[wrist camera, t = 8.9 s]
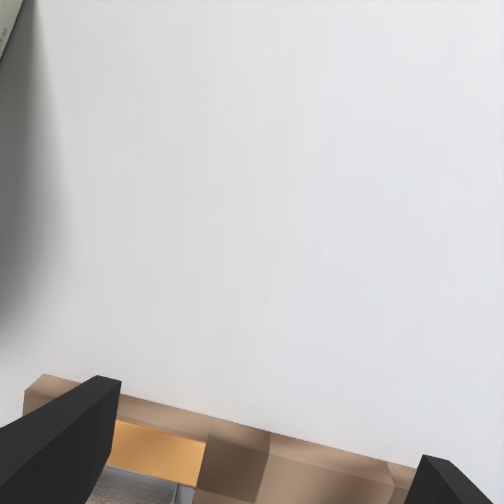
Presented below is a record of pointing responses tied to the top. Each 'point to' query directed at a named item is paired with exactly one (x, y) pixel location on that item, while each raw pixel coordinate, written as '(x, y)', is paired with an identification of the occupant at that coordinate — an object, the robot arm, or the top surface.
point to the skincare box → (7, 19)
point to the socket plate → (235, 457)
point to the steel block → (131, 488)
